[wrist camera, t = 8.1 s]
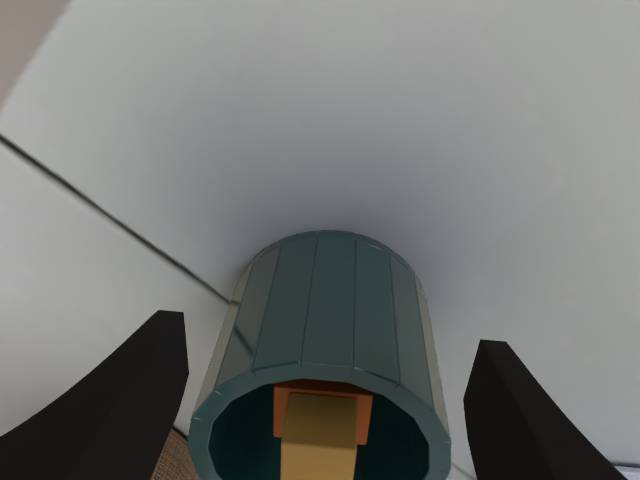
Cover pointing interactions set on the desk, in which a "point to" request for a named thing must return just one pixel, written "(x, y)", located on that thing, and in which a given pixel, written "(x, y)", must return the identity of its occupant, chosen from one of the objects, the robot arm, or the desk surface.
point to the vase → (175, 460)
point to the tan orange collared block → (320, 427)
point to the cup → (324, 359)
